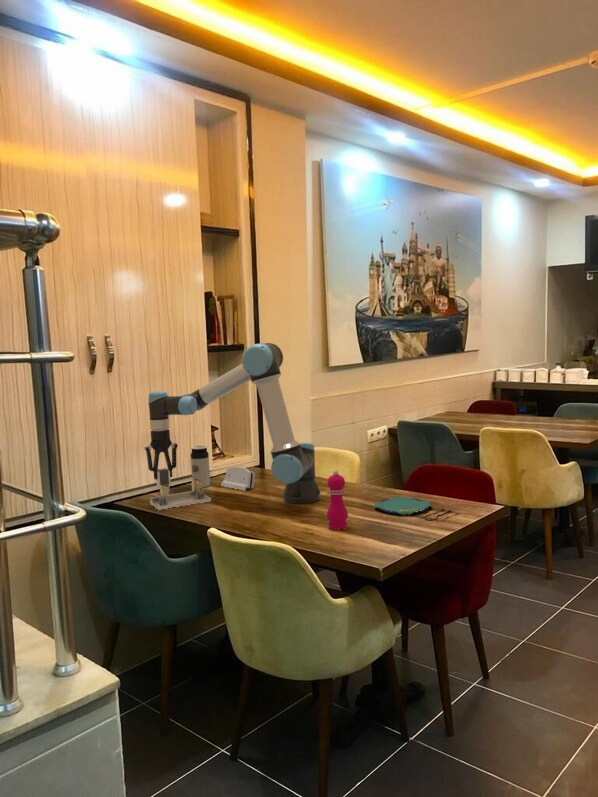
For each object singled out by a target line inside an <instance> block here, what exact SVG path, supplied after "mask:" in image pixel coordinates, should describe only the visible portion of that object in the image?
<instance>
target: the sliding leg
mask: <svg viewBox="0 0 598 797" xmlns="http://www.w3.org/2000/svg"><path fill="white" fill-rule="evenodd" d="M158 471H159V472H160V487H161V488H159V491H160V492H159V493H160V495H159V496H168V495H170V486H168V484H169V477H168V468H159V469H158Z"/></svg>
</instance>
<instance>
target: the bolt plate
mask: <svg viewBox="0 0 598 797" xmlns="http://www.w3.org/2000/svg"><path fill="white" fill-rule="evenodd" d="M201 484H202V482H201V481H199V479H198V478H195V479H192V478H191V490H189V491H183V492H178V493H177V492H176V493H171V494H170V493H169V495H168V496H161V495H158V496H151V497H150V500H149V504H150V505H151V507H153V506H154V507H155V510H157V509H158V510H157V511H163V510H162V509H164V510H169V509H168V508H170V509H173V508H172V507H176V508H180V506H182V507H186V506H185V505H188V506H192V505H191V504H194V505H198V504H197V503H200V504H205V502H206V503H210V502H212V497H210V496H209V495H207V494H205V492H204V491H205V490H204V489H202V488H201ZM154 507H153V508H154Z"/></svg>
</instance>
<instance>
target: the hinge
mask: <svg viewBox="0 0 598 797" xmlns="http://www.w3.org/2000/svg"><path fill="white" fill-rule="evenodd" d="M255 474H256V473H255V472H254V471H252V470H251V469H249V468H246V467H243V466H232V467H228V468H227V469H226V472H225V476H224V479H223V481H222V482H221V484H220V486H221V487H223V486H224V487H223V488H228V487H229V489H232V488H234V489H233V490H237V489H239V490H238V491H242V490H243V491H244V492H245V491H246V490H247V489H251V490H253V489H254V486H255V479H256V477H255V476H256V475H255ZM252 488H253V489H252Z"/></svg>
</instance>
